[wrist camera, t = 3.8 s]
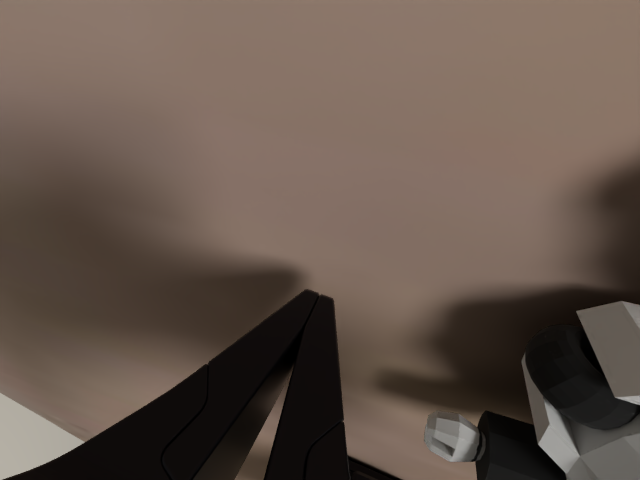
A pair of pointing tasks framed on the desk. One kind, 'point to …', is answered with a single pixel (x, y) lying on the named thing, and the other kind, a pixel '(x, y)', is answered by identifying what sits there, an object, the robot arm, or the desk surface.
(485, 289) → the desk surface
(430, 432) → the robot toy
